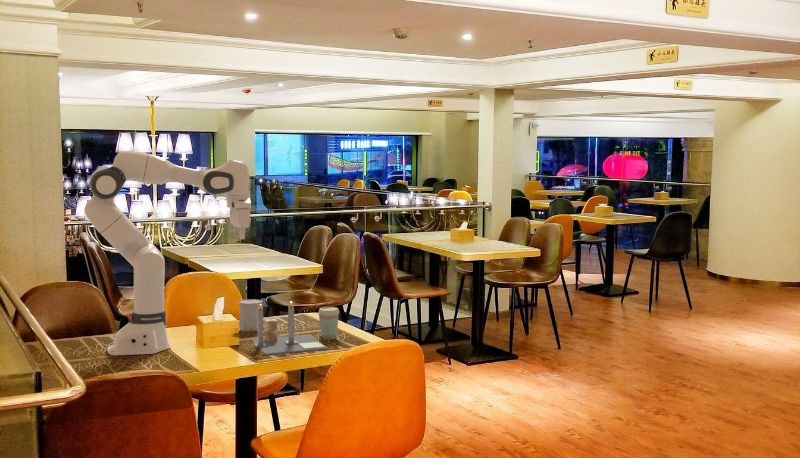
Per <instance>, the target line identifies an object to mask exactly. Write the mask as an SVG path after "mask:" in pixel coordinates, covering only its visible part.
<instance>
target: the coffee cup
mask: <svg viewBox="0 0 800 458" xmlns="http://www.w3.org/2000/svg"><path fill="white" fill-rule="evenodd" d="M317 314H318V317H319V318H318V320H319V327H320V334H321V338H323V339H324V340H326V341H327V340H328V341H332V340H336V339H337V335H338V326H339V325H338V324H339V318H340V317H339V316H340V315H339V314H340V310H339V308H338V307H335V306H324V307H319V309H318V312H317Z"/></svg>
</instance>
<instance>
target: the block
mask: <svg viewBox="0 0 800 458" xmlns="http://www.w3.org/2000/svg"><path fill="white" fill-rule="evenodd" d="M264 336H265V337H264V338H265V340H266V341H267V342H269V341H278V338H277V337H278V320H277V319H276V318H265V319H264Z"/></svg>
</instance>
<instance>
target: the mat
mask: <svg viewBox="0 0 800 458" xmlns="http://www.w3.org/2000/svg"><path fill="white" fill-rule="evenodd" d="M277 338H278V341H269V342H267V341H266V340H265V337H263V341H264V343H266V344H267V345H268V347H261V348H259V349H260V350H261V351H262V352H263V355H264V356H265V357H267V356H276V355H277V356H278V355H289V354H288V353H290V354H300V352H301V353H310V352H320V351H329V347H328V346H326V344H324V343H323V342H321V341H320V340H318V339H317V338H316V337H314V336H313V335H312V334H298V335H297V334H296V335H294V340H296V341H297V342H298V344H294V345H287V344H286V343H284V341H289V337H288V335H287V336H285V335H284V336H277ZM251 341H252V342H253V344H256V343H258V338H253V339H251ZM310 342H320V343H321V344H322V345H323V346H325V348H314V349H303V348H302V347H301V346H300V345H299V343H310Z"/></svg>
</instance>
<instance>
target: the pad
mask: <svg viewBox="0 0 800 458" xmlns="http://www.w3.org/2000/svg"><path fill="white" fill-rule="evenodd" d="M320 342H321V341H320ZM320 342H310V343H299V345H300V346H301V347H302V348H303V349H314V348H325V346H326V345H325V346H323V345H322V344H323V343H322V342H321V343H322V344H321V343H320Z"/></svg>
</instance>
